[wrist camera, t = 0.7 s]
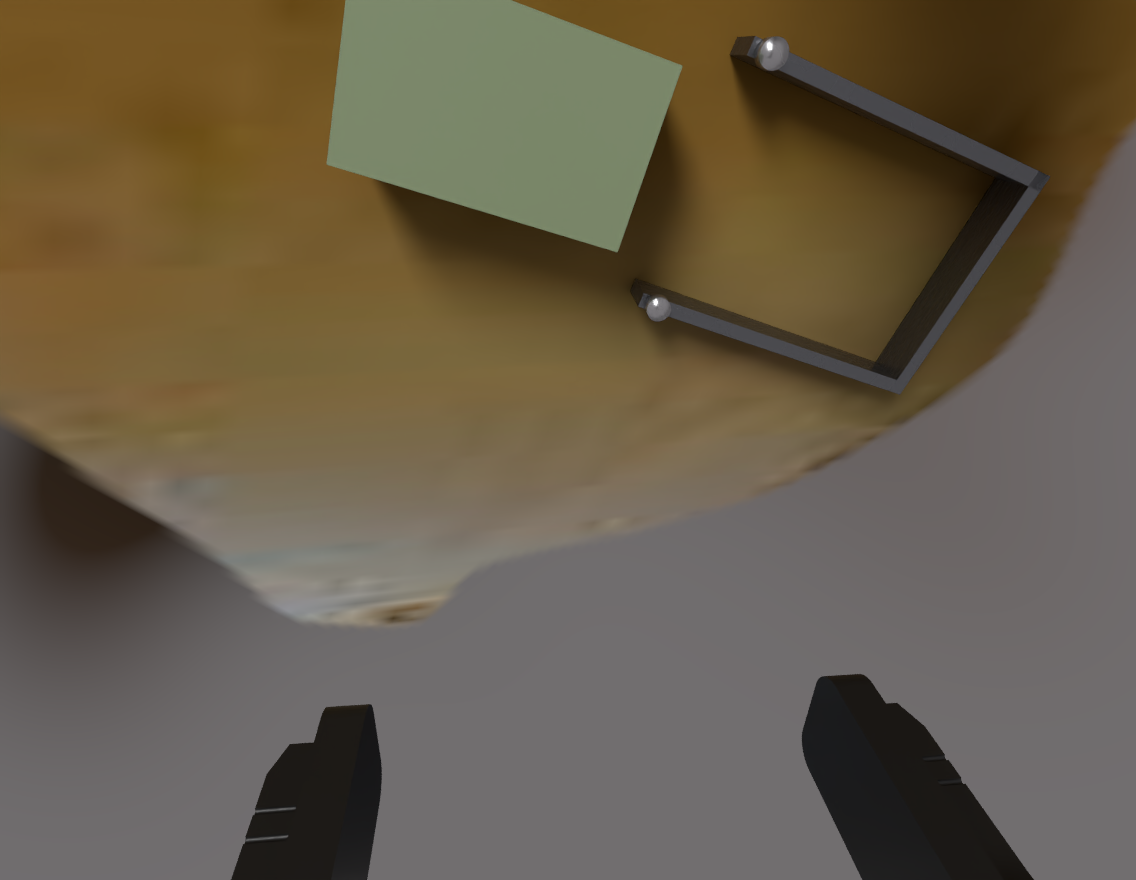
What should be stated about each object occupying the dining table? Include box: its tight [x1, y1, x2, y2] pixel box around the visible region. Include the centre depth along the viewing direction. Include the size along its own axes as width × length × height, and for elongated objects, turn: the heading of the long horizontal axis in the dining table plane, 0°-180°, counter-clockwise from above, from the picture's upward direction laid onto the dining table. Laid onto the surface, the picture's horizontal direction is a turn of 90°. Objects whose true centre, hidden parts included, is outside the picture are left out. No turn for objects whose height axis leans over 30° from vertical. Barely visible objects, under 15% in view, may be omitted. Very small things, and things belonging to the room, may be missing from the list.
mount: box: [630, 36, 1050, 394], centre depth 27 cm, size 11×14×3 cm
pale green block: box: [327, 0, 682, 252], centre depth 22 cm, size 6×10×5 cm, turn 73°
